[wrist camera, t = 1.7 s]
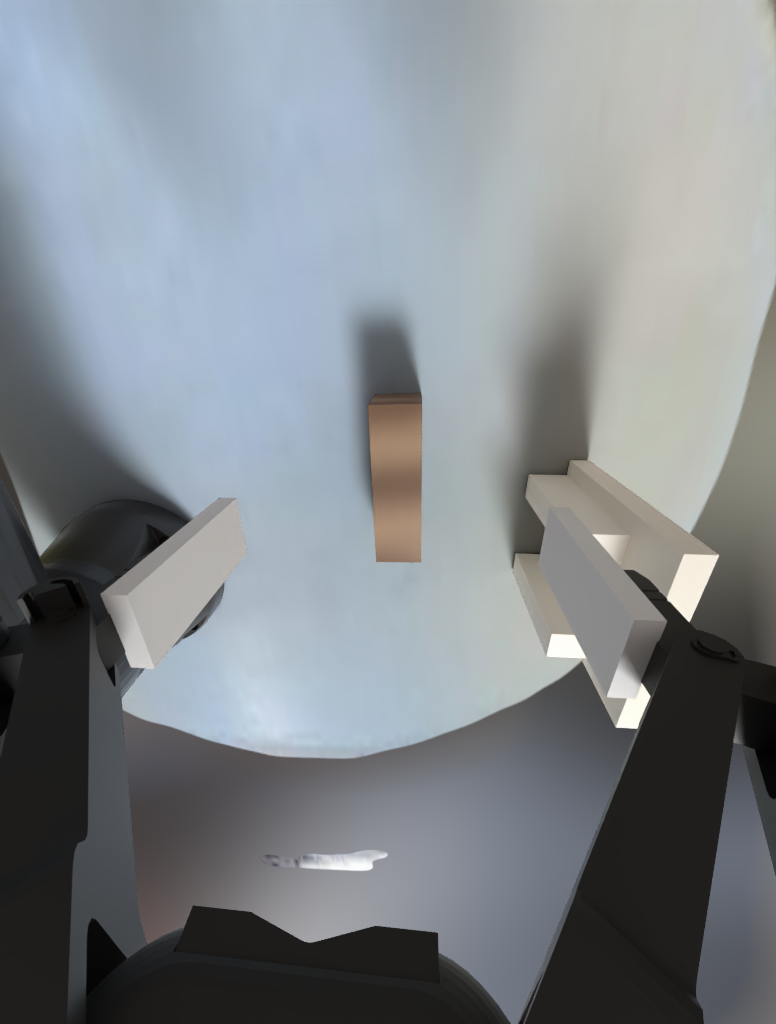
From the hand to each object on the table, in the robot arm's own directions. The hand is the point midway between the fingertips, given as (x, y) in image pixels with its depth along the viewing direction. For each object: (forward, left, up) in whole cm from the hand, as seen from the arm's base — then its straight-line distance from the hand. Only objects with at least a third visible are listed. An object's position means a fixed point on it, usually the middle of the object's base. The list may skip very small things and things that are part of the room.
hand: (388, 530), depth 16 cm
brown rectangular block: (0, -3, -16) cm, 16 cm away
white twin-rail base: (+12, -8, -15) cm, 21 cm away
